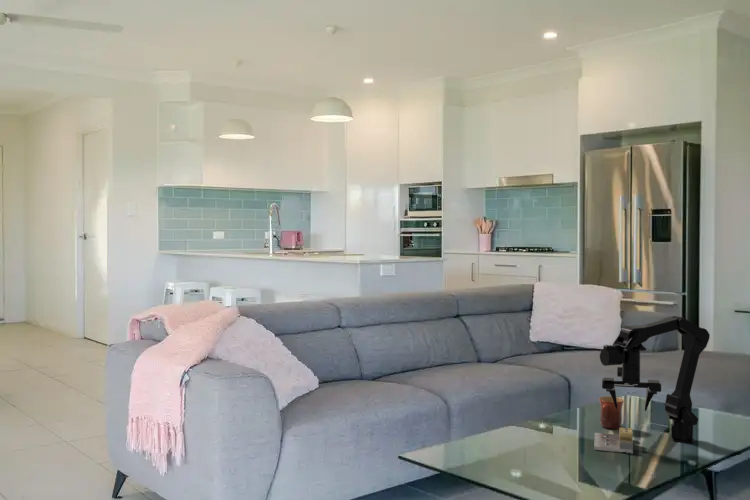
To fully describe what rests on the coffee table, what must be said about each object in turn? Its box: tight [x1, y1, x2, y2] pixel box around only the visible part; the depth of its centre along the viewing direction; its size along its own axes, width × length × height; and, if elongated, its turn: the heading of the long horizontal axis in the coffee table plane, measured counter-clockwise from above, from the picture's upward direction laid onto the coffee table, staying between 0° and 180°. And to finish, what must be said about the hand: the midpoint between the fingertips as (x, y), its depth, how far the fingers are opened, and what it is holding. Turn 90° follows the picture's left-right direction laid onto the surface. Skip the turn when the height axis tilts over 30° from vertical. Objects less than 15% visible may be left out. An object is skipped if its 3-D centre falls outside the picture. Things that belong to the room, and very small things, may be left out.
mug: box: [598, 395, 625, 430], centre depth 267 cm, size 12×9×10 cm
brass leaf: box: [618, 426, 633, 444], centre depth 247 cm, size 4×6×4 cm, turn 162°
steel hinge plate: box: [593, 432, 634, 454], centre depth 248 cm, size 12×16×3 cm
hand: (630, 409), depth 248 cm, fingers open, 9 cm apart
